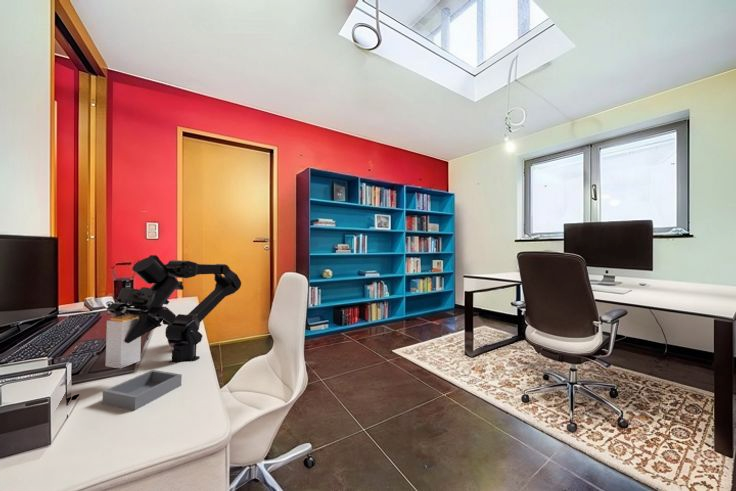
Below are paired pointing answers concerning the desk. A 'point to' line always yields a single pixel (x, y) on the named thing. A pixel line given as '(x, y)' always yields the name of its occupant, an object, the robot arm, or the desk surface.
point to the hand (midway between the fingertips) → (118, 341)
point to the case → (141, 389)
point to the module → (122, 342)
